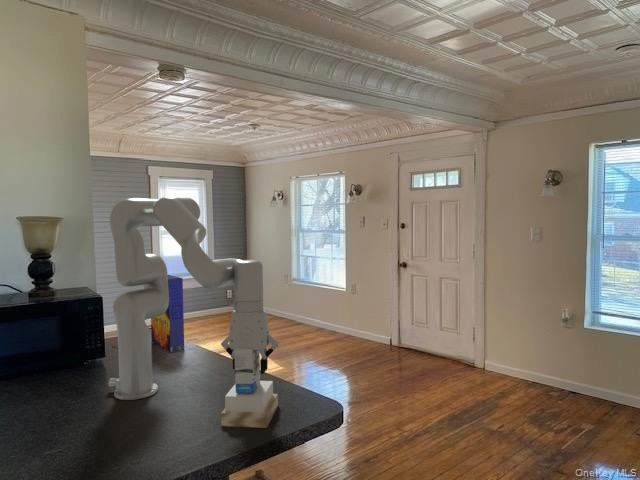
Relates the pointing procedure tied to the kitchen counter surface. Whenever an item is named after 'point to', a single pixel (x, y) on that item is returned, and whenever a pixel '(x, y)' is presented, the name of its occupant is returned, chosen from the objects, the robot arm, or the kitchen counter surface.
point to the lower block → (251, 416)
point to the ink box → (247, 370)
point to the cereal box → (170, 320)
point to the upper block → (249, 399)
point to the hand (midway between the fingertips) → (250, 371)
